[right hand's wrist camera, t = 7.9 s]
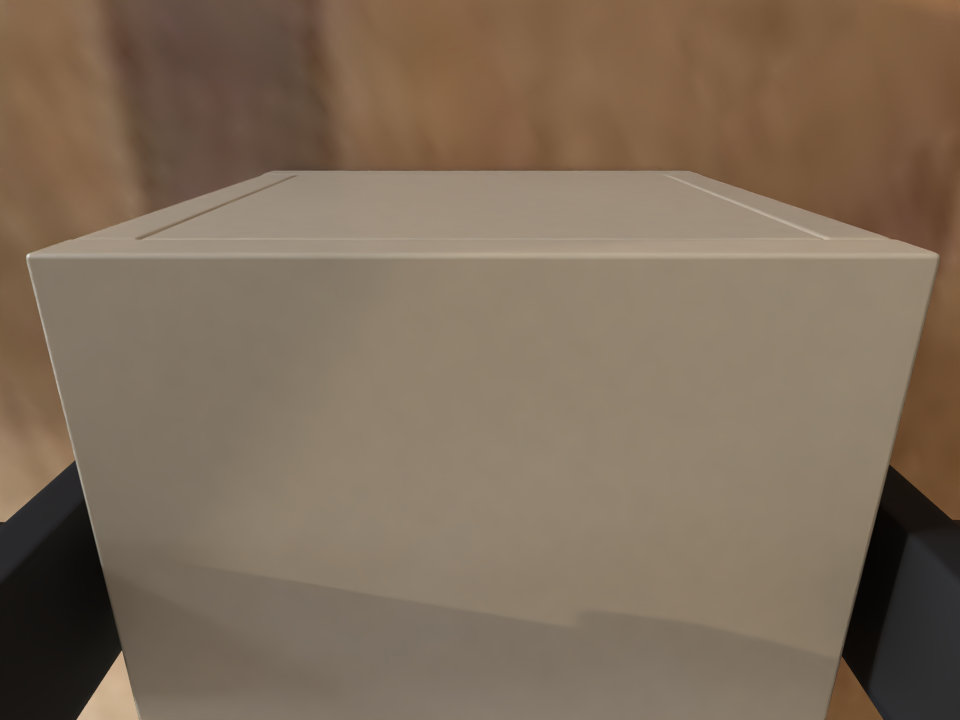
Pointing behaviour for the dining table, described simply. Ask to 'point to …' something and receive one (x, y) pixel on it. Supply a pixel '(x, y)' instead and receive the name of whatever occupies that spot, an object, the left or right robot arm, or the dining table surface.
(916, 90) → the dining table surface
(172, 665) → the cabinet
